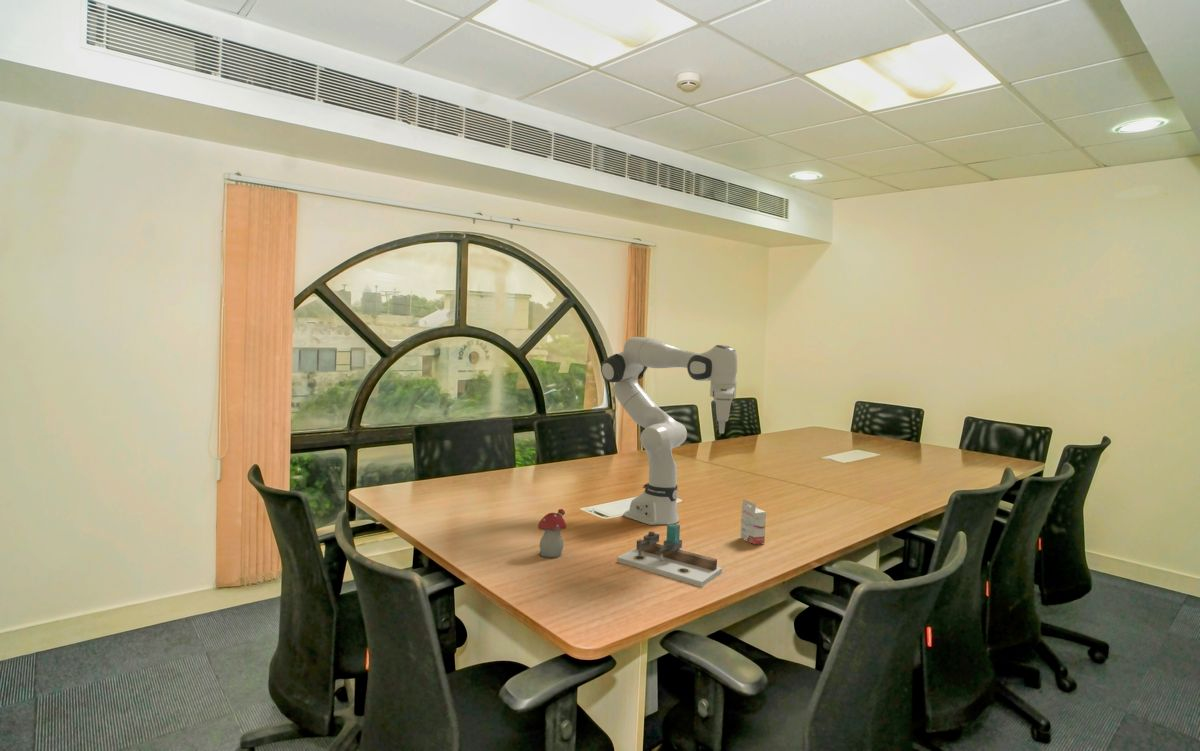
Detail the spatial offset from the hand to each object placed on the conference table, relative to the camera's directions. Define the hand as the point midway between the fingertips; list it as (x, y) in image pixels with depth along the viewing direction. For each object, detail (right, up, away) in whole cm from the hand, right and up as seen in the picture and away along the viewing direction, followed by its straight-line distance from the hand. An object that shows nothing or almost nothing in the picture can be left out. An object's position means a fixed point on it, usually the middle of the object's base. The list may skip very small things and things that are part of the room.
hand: (721, 431), depth 208 cm
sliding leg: (-21, -38, -19) cm, 48 cm away
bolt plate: (-21, -41, -21) cm, 50 cm away
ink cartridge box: (+13, -41, +7) cm, 43 cm away
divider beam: (-20, -39, -20) cm, 48 cm away
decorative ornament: (-59, -40, -13) cm, 72 cm away
